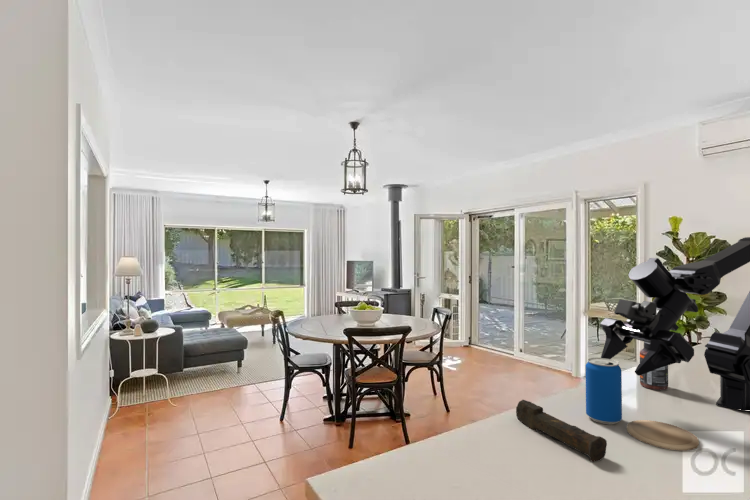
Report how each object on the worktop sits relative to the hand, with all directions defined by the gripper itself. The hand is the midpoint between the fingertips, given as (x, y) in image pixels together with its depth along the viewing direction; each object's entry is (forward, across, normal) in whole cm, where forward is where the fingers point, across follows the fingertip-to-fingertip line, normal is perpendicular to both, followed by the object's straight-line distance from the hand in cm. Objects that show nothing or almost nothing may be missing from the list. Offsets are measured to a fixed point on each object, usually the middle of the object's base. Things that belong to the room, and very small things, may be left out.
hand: (618, 367), depth 83 cm
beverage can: (+10, 0, +5) cm, 11 cm away
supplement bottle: (-9, -14, +24) cm, 29 cm away
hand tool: (+21, +5, -6) cm, 22 cm away
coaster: (+6, +9, +8) cm, 14 cm away
